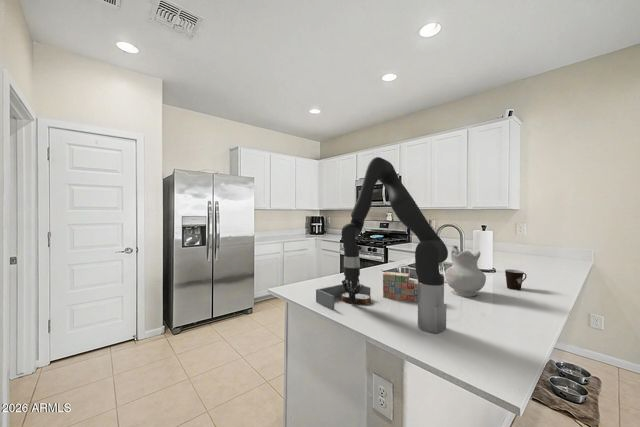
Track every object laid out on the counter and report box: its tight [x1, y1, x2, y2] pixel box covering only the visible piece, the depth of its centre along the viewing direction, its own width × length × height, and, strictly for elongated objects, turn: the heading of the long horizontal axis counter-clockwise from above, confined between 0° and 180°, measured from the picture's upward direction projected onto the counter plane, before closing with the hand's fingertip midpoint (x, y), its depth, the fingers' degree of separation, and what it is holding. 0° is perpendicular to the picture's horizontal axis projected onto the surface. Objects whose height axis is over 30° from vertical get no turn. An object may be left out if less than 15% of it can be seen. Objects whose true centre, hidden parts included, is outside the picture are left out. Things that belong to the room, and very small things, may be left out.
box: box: [315, 283, 371, 311], centre depth 133 cm, size 13×24×6 cm, turn 125°
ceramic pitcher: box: [444, 244, 487, 298], centre depth 146 cm, size 22×20×25 cm
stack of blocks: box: [382, 271, 418, 303], centre depth 136 cm, size 21×6×12 cm, turn 64°
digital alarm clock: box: [340, 293, 372, 306], centre depth 133 cm, size 15×3×8 cm
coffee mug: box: [504, 268, 527, 291], centre depth 154 cm, size 12×9×10 cm
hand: (352, 302), depth 128 cm, fingers closed
